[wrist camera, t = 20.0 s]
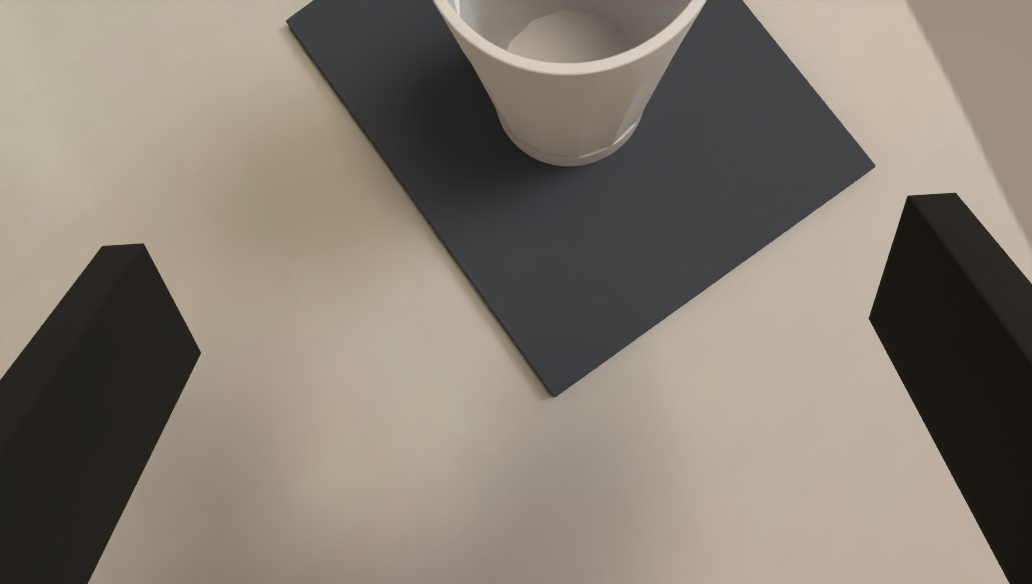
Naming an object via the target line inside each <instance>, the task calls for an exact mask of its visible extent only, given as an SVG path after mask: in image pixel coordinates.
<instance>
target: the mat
mask: <svg viewBox="0 0 1032 584" xmlns="http://www.w3.org/2000/svg"><path fill="white" fill-rule="evenodd" d="M286 22H287V24H288V25H289V26H290V28H291V29H292V31H293V32H294V33H295V35H296V36H297V38H298V39H299V41H300V42H301V43H302V45H303V46H304V48H305V49H306V50H307V52H308V53H309V55H310V56H311V57H312V59H313V60H314V62H315V63H316V64H317V66H318V67H319V69H320V70H321V71H322V73H323V74H324V76H325V77H326V78H327V80H328V81H329V83H330V84H331V85H332V87H333V88H334V90H335V91H336V92H337V94H338V95H339V97H340V98H341V99H342V101H343V102H344V104H345V105H346V106H347V108H348V109H349V111H350V112H351V113H352V115H353V116H354V118H355V119H356V120H357V122H358V123H359V125H360V126H361V127H362V129H363V130H364V132H365V133H366V134H367V136H368V137H369V139H370V140H371V141H372V143H373V144H374V146H375V147H376V148H377V150H378V151H379V153H380V154H381V155H382V157H383V158H384V160H385V161H386V162H387V164H388V165H389V167H390V168H391V169H392V171H393V172H394V174H395V175H396V177H397V178H398V179H399V181H400V182H401V184H402V185H403V186H404V188H405V189H406V191H407V192H408V193H409V195H410V196H411V198H412V199H413V200H414V202H415V203H416V205H417V206H418V207H419V209H420V210H421V212H422V213H423V214H424V216H425V217H426V219H427V220H428V221H429V223H430V224H431V226H432V227H433V228H434V230H435V231H436V233H437V234H438V235H439V237H440V238H441V240H442V241H443V242H444V244H445V245H446V247H447V248H448V249H449V251H450V252H451V254H452V255H453V256H454V258H455V259H456V261H457V262H458V263H459V265H460V266H461V268H462V269H463V270H464V272H465V273H466V275H467V276H468V277H469V279H470V280H471V282H472V283H473V284H474V286H475V287H476V289H477V290H478V291H479V293H480V294H481V296H482V297H483V298H484V300H485V301H486V303H487V304H488V305H489V307H490V308H491V310H492V311H493V312H494V314H495V315H496V317H497V318H498V320H499V321H500V322H501V324H502V325H503V327H504V328H505V329H506V331H507V332H508V334H509V335H510V336H511V338H512V339H513V341H514V342H515V343H516V345H517V346H518V348H519V349H520V350H521V352H522V353H523V355H524V356H525V357H526V359H527V360H528V362H529V363H530V364H531V366H532V367H533V369H534V370H535V371H536V373H537V374H538V376H539V377H540V378H541V380H542V381H543V383H544V384H545V385H546V387H547V388H548V390H549V391H550V392H551V394H552V395H553V397H556V396H558V395H559V394H560V393H562V392H563V391H565V390H566V389H567V388H569V387H570V386H572V385H573V384H574V383H576V382H577V381H579V380H580V379H581V378H583V377H584V376H585V375H587V374H588V373H590V372H591V371H592V370H594V369H595V368H597V367H598V366H599V365H601V364H602V363H604V362H605V361H606V360H608V359H609V358H610V357H612V356H613V355H615V354H616V353H617V352H619V351H620V350H622V349H623V348H624V347H626V346H627V345H629V344H630V343H631V342H633V341H634V340H636V339H637V338H638V337H640V336H641V335H642V334H644V333H645V332H647V331H648V330H649V329H651V328H652V327H654V326H655V325H656V324H658V323H659V322H661V321H662V320H663V319H665V318H666V317H667V316H669V315H670V314H672V313H673V312H674V311H676V310H677V309H679V308H680V307H681V306H683V305H684V304H686V303H687V302H688V301H690V300H691V299H693V298H694V297H695V296H697V295H698V294H699V293H701V292H702V291H704V290H705V289H706V288H708V287H709V286H711V285H712V284H713V283H715V282H716V281H718V280H719V279H720V278H722V277H723V276H724V275H726V274H727V273H729V272H730V271H731V270H733V269H734V268H736V267H737V266H738V265H740V264H741V263H743V262H744V261H745V260H747V259H748V258H750V257H751V256H752V255H754V254H755V253H756V252H758V251H759V250H761V249H762V248H763V247H765V246H766V245H768V244H769V243H770V242H772V241H773V240H775V239H776V238H777V237H779V236H780V235H781V234H783V233H784V232H786V231H787V230H788V229H790V228H791V227H793V226H794V225H795V224H797V223H798V222H800V221H801V220H802V219H804V218H805V217H807V216H808V215H809V214H811V213H812V212H813V211H815V210H816V209H818V208H819V207H820V206H822V205H823V204H825V203H826V202H827V201H829V200H830V199H832V198H833V197H834V196H836V195H837V194H838V193H840V192H841V191H843V190H844V189H845V188H847V187H848V186H850V185H851V184H852V183H854V182H855V181H857V180H858V179H859V178H861V177H862V176H863V175H865V174H866V173H868V172H869V171H870V170H872V169H873V168H875V164H874V163H873V162H872V161H871V159H870V158H869V157H868V156H867V154H866V153H865V152H864V151H863V149H862V148H861V147H860V146H859V144H858V143H857V142H856V141H855V139H854V138H853V137H852V136H851V134H850V133H849V132H848V131H847V130H846V128H845V127H844V126H843V125H842V123H841V122H840V121H839V120H838V118H837V117H836V116H835V115H834V113H833V112H832V111H831V110H830V108H829V107H828V106H827V105H826V104H825V102H824V101H823V100H822V99H821V97H820V96H819V95H818V94H817V92H816V91H815V90H814V89H813V87H812V86H811V85H810V84H809V82H808V81H807V80H806V79H805V77H804V76H803V75H802V74H801V73H800V71H799V70H798V69H797V68H796V66H795V65H794V64H793V63H792V61H791V60H790V59H789V58H788V56H787V55H786V54H785V53H784V51H783V50H782V49H781V48H780V47H779V45H778V44H777V43H776V42H775V40H774V39H773V38H772V37H771V35H770V34H769V33H768V32H767V30H766V29H765V28H764V27H763V25H762V24H761V23H760V22H759V20H758V19H757V18H756V17H755V16H754V14H753V13H752V12H751V11H750V9H749V8H748V7H747V6H746V4H745V3H744V2H743V1H742V0H707V1H706V2H705V4H704V6H703V7H702V9H701V11H700V12H699V14H698V16H697V17H696V19H695V21H694V22H693V24H692V26H691V27H690V29H689V31H688V32H687V34H686V36H685V37H684V39H683V41H682V42H681V44H680V46H679V47H678V49H677V51H676V53H675V54H674V56H673V58H672V60H671V61H670V63H669V65H668V67H667V69H666V70H665V72H664V74H663V76H662V78H661V79H660V81H659V83H658V85H657V86H656V88H655V90H654V92H653V94H652V95H651V97H650V99H649V101H648V103H647V104H646V106H645V108H644V110H643V113H642V116H641V119H640V121H639V123H638V125H637V127H636V129H635V130H634V132H633V133H632V135H631V136H630V137H629V139H628V140H627V141H626V142H625V143H624V144H623V145H622V146H621V147H620V148H619V149H617V150H616V151H615V152H613V153H612V154H610V155H609V156H607V157H605V158H603V159H601V160H598V161H596V162H593V163H590V164H586V165H580V166H557V165H552V164H548V163H545V162H542V161H539V160H537V159H535V158H533V157H531V156H529V155H528V154H526V153H525V152H523V151H522V150H521V149H520V148H519V147H517V146H516V145H515V144H514V143H513V141H512V140H511V139H510V138H509V136H508V135H507V134H506V132H505V130H504V129H503V127H502V125H501V123H500V120H499V117H498V114H497V111H496V108H495V106H494V104H493V102H492V100H491V98H490V96H489V95H488V93H487V91H486V89H485V87H484V85H483V84H482V82H481V80H480V78H479V76H478V74H477V73H476V71H475V69H474V67H473V65H472V64H471V62H470V61H469V59H468V58H467V56H466V55H465V54H464V52H463V50H462V49H461V47H460V45H459V44H458V42H457V40H456V39H455V37H454V35H453V34H452V32H451V30H450V29H449V27H448V25H447V24H446V22H445V20H444V19H443V17H442V15H441V14H440V12H439V10H438V9H437V7H436V5H435V4H434V2H433V0H313V1H312V2H311V3H309V4H308V5H307V6H305V7H304V8H302V9H301V10H300V11H298V12H297V13H296V14H294V15H293V16H292V17H290V18H289V19H287V20H286Z"/></svg>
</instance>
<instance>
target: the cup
mask: <svg viewBox="0 0 1032 584" xmlns="http://www.w3.org/2000/svg"><path fill="white" fill-rule="evenodd" d="M706 1H707V0H433V2H434V4H435V5H436V7H437V9H438V10H439V12H440V14H441V15H442V17H443V19H444V20H445V22H446V24H447V25H448V27H449V29H450V30H451V32H452V34H453V35H454V37H455V39H456V40H457V42H458V44H459V45H460V47H461V49H462V50H463V52H464V54H465V55H466V56H467V58H468V59H469V61H470V62H471V64H472V65H473V67H474V69H475V71H476V73H477V74H478V76H479V78H480V80H481V82H482V84H483V85H484V87H485V89H486V91H487V93H488V95H489V96H490V98H491V100H492V102H493V104H494V106H495V108H496V111H497V114H498V117H499V120H500V123H501V125H502V127H503V129H504V130H505V132H506V134H507V135H508V136H509V138H510V139H511V140H512V141H513V143H514V144H515V145H516V146H517V147H519V148H520V149H521V150H522V151H523V152H525V153H526V154H528V155H529V156H531V157H533V158H535V159H537V160H539V161H542V162H545V163H548V164H552V165H557V166H580V165H586V164H590V163H593V162H596V161H598V160H601V159H603V158H605V157H607V156H609V155H610V154H612V153H613V152H615V151H616V150H617V149H619V148H620V147H621V146H622V145H623V144H624V143H625V142H626V141H627V140H628V139H629V137H630V136H631V135H632V133H633V132H634V130H635V129H636V127H637V125H638V123H639V121H640V119H641V116H642V113H643V110H644V108H645V106H646V104H647V103H648V101H649V99H650V97H651V95H652V94H653V92H654V90H655V88H656V86H657V85H658V83H659V81H660V79H661V78H662V76H663V74H664V72H665V70H666V69H667V67H668V65H669V63H670V61H671V60H672V58H673V56H674V54H675V53H676V51H677V49H678V47H679V46H680V44H681V42H682V41H683V39H684V37H685V36H686V34H687V32H688V31H689V29H690V27H691V26H692V24H693V22H694V21H695V19H696V17H697V16H698V14H699V12H700V11H701V9H702V7H703V6H704V4H705V2H706Z"/></svg>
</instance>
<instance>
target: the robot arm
mask: <svg viewBox="0 0 1032 584" xmlns="http://www.w3.org/2000/svg"><path fill="white" fill-rule="evenodd" d="M869 320H870V322H871V324H872V326H873V327H874V329H875V331H876V333H877V335H878V337H879V339H880V341H881V343H882V344H883V346H884V348H885V350H886V352H887V354H888V356H889V358H890V359H891V361H892V363H893V365H894V367H895V369H896V371H897V373H898V375H899V376H900V378H901V380H902V382H903V384H904V386H905V388H906V390H907V391H908V393H909V395H910V397H911V399H912V401H913V403H914V405H915V407H916V408H917V410H918V412H919V414H920V416H921V418H922V420H923V422H924V423H925V425H926V427H927V429H928V431H929V433H930V435H931V437H932V439H933V440H934V442H935V444H936V446H937V448H938V450H939V452H940V454H941V455H942V457H943V459H944V461H945V463H946V465H947V467H948V469H949V470H950V472H951V474H952V476H953V478H954V480H955V482H956V484H957V486H958V487H959V489H960V491H961V493H962V495H963V497H964V499H965V501H966V502H967V504H968V506H969V508H970V510H971V512H972V514H973V516H974V518H975V519H976V521H977V523H978V525H979V527H980V529H981V531H982V533H983V534H984V536H985V538H986V540H987V542H988V544H989V546H990V548H991V550H992V551H993V553H994V555H995V557H996V559H997V561H998V563H999V565H1000V566H1001V568H1002V570H1003V572H1004V574H1005V576H1006V578H1007V580H1008V582H1009V583H1010V584H1032V284H1031V283H1030V281H1029V280H1028V279H1027V278H1026V277H1025V275H1024V274H1023V273H1022V272H1021V271H1020V269H1019V268H1018V267H1017V266H1016V265H1015V263H1014V262H1013V261H1012V260H1011V259H1010V257H1009V256H1008V255H1007V254H1006V253H1005V251H1004V250H1003V249H1002V248H1001V247H1000V245H999V244H998V243H997V242H996V241H995V239H994V238H993V237H992V236H991V235H990V233H989V232H988V231H987V230H986V228H985V227H984V226H983V225H982V224H981V222H980V221H979V220H978V219H977V218H976V216H975V215H974V214H973V213H972V212H971V210H970V209H969V208H968V207H967V206H966V204H965V203H964V202H963V201H962V200H961V198H960V197H959V196H958V195H957V194H956V193H944V194H928V195H912V196H907V199H906V202H905V206H904V209H903V212H902V215H901V218H900V221H899V225H898V228H897V231H896V234H895V237H894V240H893V243H892V247H891V250H890V253H889V256H888V259H887V262H886V266H885V269H884V272H883V275H882V278H881V281H880V285H879V288H878V291H877V294H876V297H875V300H874V304H873V307H872V310H871V313H870V316H869ZM200 354H201V352H200V350H199V348H198V346H197V344H196V342H195V340H194V338H193V336H192V334H191V333H190V331H189V329H188V327H187V325H186V323H185V321H184V319H183V317H182V315H181V314H180V312H179V310H178V308H177V306H176V304H175V302H174V300H173V298H172V296H171V295H170V293H169V291H168V289H167V287H166V285H165V283H164V281H163V279H162V277H161V276H160V274H159V272H158V270H157V268H156V266H155V264H154V262H153V260H152V258H151V257H150V255H149V253H148V251H147V249H146V247H145V245H144V243H143V244H127V245H111V246H102V247H101V248H100V250H99V251H98V252H97V254H96V255H95V256H94V258H93V259H92V260H91V262H90V263H89V264H88V266H87V267H86V268H85V270H84V271H83V272H82V273H81V275H80V276H79V277H78V279H77V280H76V281H75V283H74V284H73V285H72V287H71V288H70V289H69V291H68V292H67V293H66V294H65V296H64V297H63V298H62V300H61V301H60V302H59V304H58V305H57V306H56V308H55V309H54V310H53V312H52V313H51V314H50V316H49V317H48V318H47V319H46V321H45V322H44V323H43V325H42V326H41V327H40V329H39V330H38V331H37V333H36V334H35V335H34V337H33V338H32V339H31V341H30V342H29V343H28V344H27V346H26V347H25V348H24V350H23V351H22V352H21V354H20V355H19V356H18V358H17V359H16V360H15V362H14V363H13V364H12V365H11V367H10V368H9V369H8V371H7V372H6V373H5V375H4V376H3V377H2V379H1V380H0V584H88V582H89V580H90V578H91V576H92V574H93V572H94V570H95V568H96V566H97V564H98V562H99V559H100V557H101V555H102V553H103V551H104V549H105V547H106V545H107V543H108V541H109V539H110V537H111V535H112V533H113V531H114V529H115V527H116V525H117V523H118V521H119V519H120V517H121V515H122V513H123V511H124V509H125V507H126V505H127V503H128V501H129V498H130V496H131V494H132V492H133V490H134V488H135V486H136V484H137V482H138V480H139V478H140V476H141V474H142V472H143V470H144V468H145V466H146V464H147V462H148V460H149V458H150V456H151V454H152V452H153V450H154V448H155V446H156V444H157V442H158V440H159V438H160V435H161V433H162V431H163V429H164V427H165V425H166V423H167V421H168V419H169V417H170V415H171V413H172V411H173V409H174V407H175V405H176V403H177V401H178V399H179V397H180V395H181V393H182V391H183V389H184V387H185V385H186V383H187V381H188V379H189V377H190V374H191V372H192V370H193V368H194V366H195V364H196V362H197V360H198V358H199V356H200Z"/></svg>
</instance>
